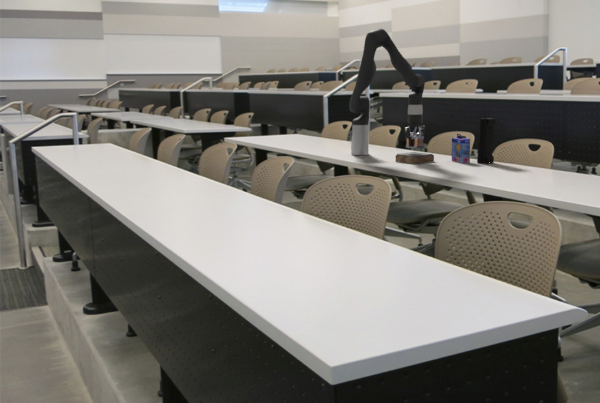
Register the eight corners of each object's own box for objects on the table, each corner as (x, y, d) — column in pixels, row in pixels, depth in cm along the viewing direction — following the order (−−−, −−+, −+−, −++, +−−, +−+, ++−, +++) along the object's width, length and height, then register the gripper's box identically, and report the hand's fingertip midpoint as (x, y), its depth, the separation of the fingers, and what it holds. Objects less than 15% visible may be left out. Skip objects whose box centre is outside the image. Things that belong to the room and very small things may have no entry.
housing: (417, 148, 330) (417, 137, 329) (405, 147, 336) (405, 136, 335) (423, 147, 333) (423, 136, 332) (412, 146, 339) (412, 135, 338)
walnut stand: (395, 161, 338) (395, 154, 337) (413, 159, 346) (414, 151, 345) (415, 164, 327) (415, 156, 326) (433, 161, 335) (434, 153, 334)
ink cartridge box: (450, 160, 336) (451, 133, 334) (459, 160, 338) (460, 132, 335) (460, 163, 327) (461, 134, 324) (470, 162, 329) (471, 134, 326)
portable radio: (484, 161, 331) (485, 112, 326) (494, 162, 327) (496, 113, 322) (476, 163, 325) (477, 113, 321) (487, 164, 321) (488, 114, 316)
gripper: (410, 114, 324) (410, 147, 328) (430, 113, 333) (429, 145, 336) (400, 113, 330) (399, 146, 333) (419, 112, 339) (418, 144, 342)
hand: (414, 146), depth 335 cm, fingers closed on housing, 5 cm apart
